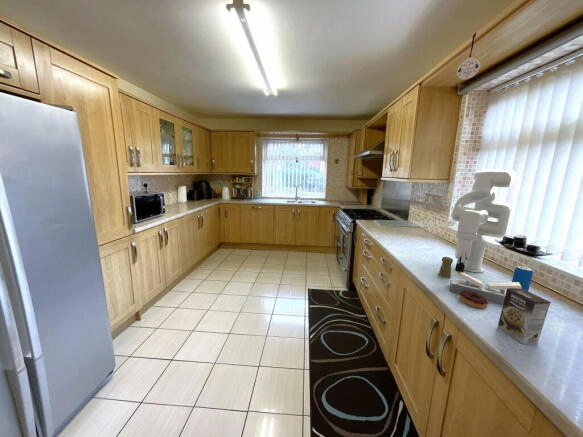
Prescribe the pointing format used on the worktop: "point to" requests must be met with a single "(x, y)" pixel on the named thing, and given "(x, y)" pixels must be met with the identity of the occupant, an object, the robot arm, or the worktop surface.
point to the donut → (473, 299)
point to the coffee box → (523, 315)
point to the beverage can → (523, 276)
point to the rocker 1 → (469, 278)
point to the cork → (446, 267)
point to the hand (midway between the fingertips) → (459, 271)
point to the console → (478, 290)
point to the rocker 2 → (503, 285)
